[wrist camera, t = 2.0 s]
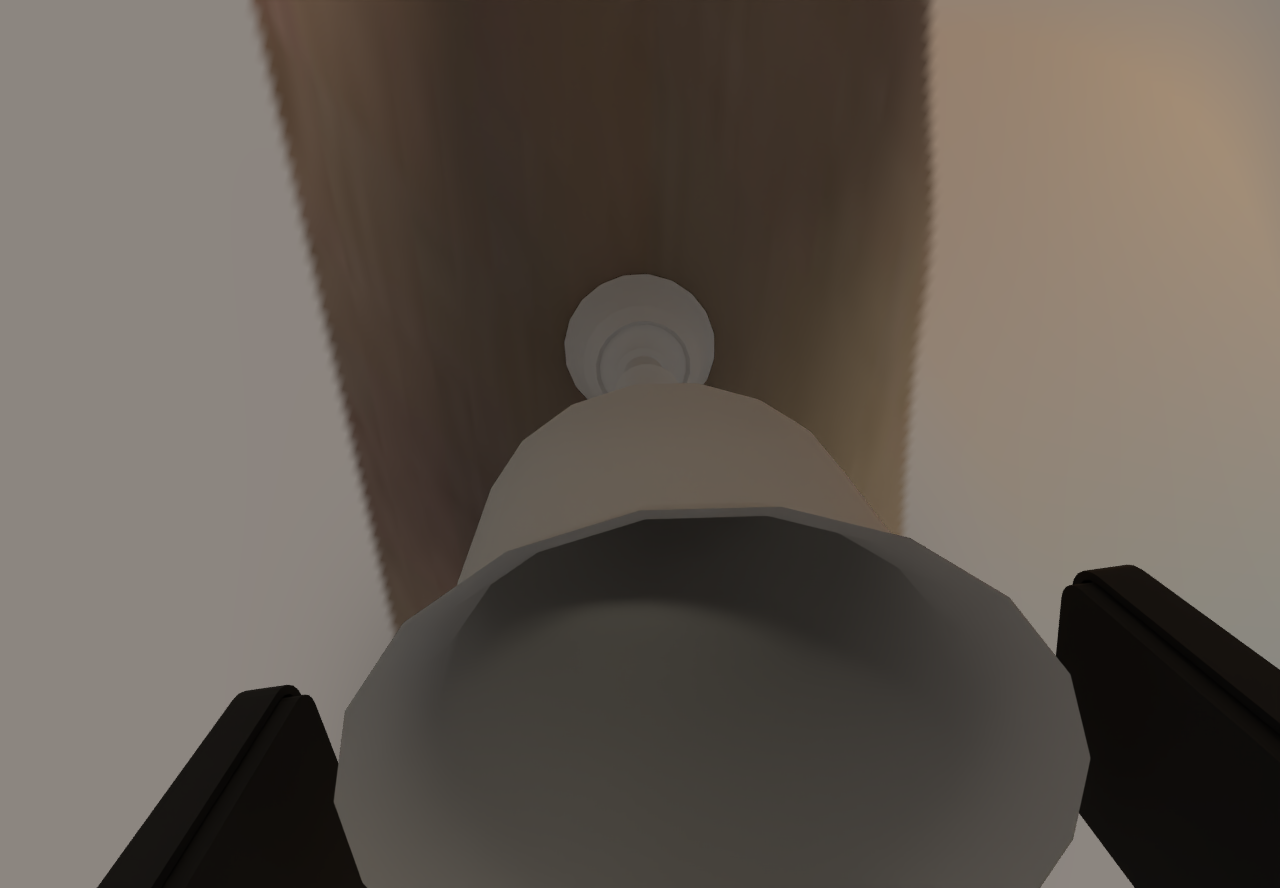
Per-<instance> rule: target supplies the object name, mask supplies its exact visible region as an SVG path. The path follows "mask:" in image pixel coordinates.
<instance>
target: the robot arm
mask: <svg viewBox="0 0 1280 888" xmlns="http://www.w3.org/2000/svg"><path fill="white" fill-rule="evenodd" d="M1056 657H1057V658H1058V659H1059V661H1060V662H1061V663H1062V665H1063V666H1064V667H1065V668H1066V670H1067V671H1068V672H1069V673H1070V675H1071V679H1072V683H1073V688H1074V692H1075V696H1076V700H1077V704H1078V708H1079V712H1080V717H1081V721H1082V725H1083V729H1084V733H1085V737H1086V742H1087V746H1088V750H1089V754H1090V763H1089V767H1088V772H1087V777H1086V781H1085V786H1084V791H1083V795H1082V800H1081V805H1080V809H1079V814H1080V815H1081V816H1082V818H1083V819H1084V820H1085V821H1086V823H1087V824H1088V826H1089V827H1090V828H1091V830H1092V831H1093V832H1094V834H1095V835H1096V836H1097V838H1098V839H1099V840H1100V842H1101V843H1102V844H1103V846H1104V847H1105V848H1106V850H1107V851H1108V852H1109V854H1110V855H1111V857H1113V859H1114V861H1115V862H1116V863H1117V865H1118V866H1119V867H1120V869H1121V870H1122V871H1123V873H1124V874H1125V875H1126V877H1127V878H1128V879H1129V881H1130V882H1131V883H1132V885H1133V886H1134V887H1135V888H1280V670H1279V669H1278V668H1277V667H1275V666H1274V665H1272V664H1271V663H1270V662H1268V661H1267V660H1266V659H1264V658H1263V657H1261V656H1260V655H1259V654H1257V653H1256V652H1254V651H1253V650H1252V649H1250V648H1249V647H1248V646H1246V645H1245V644H1244V643H1242V642H1240V641H1239V640H1238V639H1237V638H1235V637H1234V636H1232V635H1231V634H1230V633H1228V632H1227V631H1226V630H1224V629H1223V628H1222V627H1220V626H1219V625H1217V624H1216V623H1215V622H1213V621H1212V620H1211V619H1209V618H1208V617H1207V616H1205V615H1204V614H1202V613H1201V612H1200V611H1198V610H1197V609H1195V608H1194V607H1193V606H1191V605H1190V604H1189V603H1187V602H1186V601H1184V600H1183V599H1182V598H1180V597H1179V596H1178V595H1176V594H1175V593H1174V592H1172V591H1171V590H1169V589H1168V588H1167V587H1165V586H1164V585H1163V584H1161V583H1160V582H1158V581H1157V580H1156V579H1154V578H1153V577H1151V576H1150V575H1149V574H1147V573H1146V572H1145V571H1143V570H1142V569H1140V568H1138V567H1136V566H1134V565H1122V566H1115V567H1108V568H1101V569H1094V570H1087V571H1082V572H1080V573H1078V574H1077V575H1076V577H1075V578H1074V581H1073V585H1069V586H1067V587H1066V588H1065V589H1064V591H1063V593H1062V598H1061V609H1060V620H1059V630H1058V641H1057V651H1056ZM337 771H338V761H337V759H336V756H335V753H334V751H333V748H332V746H331V743H330V741H329V738H328V735H327V733H326V730H325V728H324V725H323V723H322V720H321V718H320V715H319V712H318V710H317V707H316V705H315V702H314V701H313V699H312V698H311V697H310V696H309V695H301V694H300V692H299V690H298V689H297V688H295V687H294V686H291V685H284V686H276V687H269V688H263V689H256V690H249V691H244V692H242V693H240V694H238V695H237V696H236V697H235V698H234V699H233V700H232V702H231V703H230V705H229V706H228V707H227V709H226V710H225V712H224V713H223V714H222V716H221V717H220V719H219V720H218V721H217V723H216V724H215V726H214V727H213V728H212V730H211V731H210V732H209V734H208V735H207V736H206V738H205V739H204V740H203V742H202V743H201V745H200V746H199V748H198V749H197V750H196V752H195V753H194V754H193V756H192V757H191V758H190V760H189V761H188V763H187V764H186V765H185V767H184V768H183V770H182V771H181V772H180V774H179V775H178V776H177V778H176V779H175V781H174V782H173V783H172V785H171V786H170V788H169V789H168V790H167V792H166V793H165V794H164V796H163V797H162V799H161V800H160V801H159V803H158V804H157V806H156V807H155V808H154V810H153V811H152V813H151V814H150V815H149V817H148V818H147V819H146V821H145V822H144V824H143V825H142V826H141V828H140V829H139V830H138V832H137V833H136V835H135V836H134V837H133V839H132V840H131V841H130V843H129V845H128V846H127V847H126V848H125V850H124V851H123V853H122V854H121V855H120V857H119V858H118V859H117V861H116V862H115V864H114V865H113V866H112V868H111V869H110V871H109V872H108V873H107V875H106V876H105V878H104V879H103V880H102V882H101V883H100V884H99V886H98V887H97V888H367V887H366V886H365V885H364V884H363V882H362V880H361V877H360V874H359V871H358V868H357V865H356V863H355V860H354V857H353V854H352V851H351V849H350V846H349V843H348V840H347V837H346V835H345V832H344V829H343V826H342V823H341V821H340V818H339V815H338V812H337V809H336V807H335V804H334V795H335V787H336V779H337Z"/></svg>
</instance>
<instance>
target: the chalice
mask: <svg viewBox="0 0 1280 888" xmlns="http://www.w3.org/2000/svg"><path fill="white" fill-rule="evenodd" d="M564 345H565V355H566V366H567V368H568V370H569V372H570V375H571V377H572V379H573V381H574V384H575V386H576V387H577V388H578V390H579V391H580V392H581V393H582V394H583V395H584V396H585V397H586V398H587V400H585V401H581V402H578V403H575V404H572V405H571V406H569V407H568V408H567V409H565V410H564V411H562V412H561V413H560V414H558V415H557V416H556V417H554V418H553V419H552V420H550V421H549V422H547V423H546V424H545V425H543V426H542V427H541V428H539V429H538V430H536V431H535V432H534V433H532V434H531V435H530V436H528V437H527V438H526V439H524V440H523V441H522V442H521V444H520V445H519V447H518V448H517V450H516V451H515V453H514V454H513V456H512V457H511V459H510V460H509V462H508V463H507V465H506V467H505V468H504V470H503V471H502V473H501V474H500V476H499V477H498V479H497V480H496V482H495V483H494V485H493V486H492V488H491V490H490V493H489V496H488V499H487V502H486V504H485V507H484V510H483V513H482V516H481V518H480V521H479V524H478V527H477V530H476V532H475V535H474V538H473V541H472V544H471V547H470V549H469V552H468V555H467V558H466V561H465V563H464V566H463V569H462V572H461V575H460V578H459V580H458V583H457V586H456V587H454V588H453V589H451V590H450V591H448V592H447V593H446V594H444V595H443V596H441V597H440V598H438V599H437V600H435V601H434V602H433V603H431V604H430V605H428V606H427V607H425V608H424V609H423V610H421V611H420V612H418V613H417V614H415V615H414V616H412V617H411V618H410V619H408V620H407V621H405V622H404V623H403V624H402V626H401V627H400V629H399V630H398V632H397V633H396V635H395V636H394V638H393V639H392V641H391V642H390V644H389V645H388V647H387V648H386V650H385V652H384V653H383V654H382V656H381V657H380V659H379V661H378V662H377V663H376V665H375V667H374V668H373V670H372V671H371V673H370V674H369V676H368V677H367V679H366V680H365V682H364V683H363V685H362V686H361V688H360V689H359V691H358V693H357V694H356V695H355V697H354V699H353V700H352V701H351V703H350V704H349V706H348V707H347V709H346V711H345V715H344V723H343V731H342V739H341V747H340V755H339V763H338V771H337V779H336V787H335V795H334V804H335V807H336V809H337V812H338V815H339V818H340V821H341V823H342V826H343V829H344V832H345V835H346V837H347V840H348V843H349V846H350V849H351V851H352V854H353V857H354V860H355V863H356V865H357V868H358V871H359V874H360V877H361V880H362V882H363V884H364V885H365V886H366V887H367V888H1040V887H1041V886H1042V884H1043V883H1044V881H1045V880H1046V878H1047V877H1048V875H1049V874H1050V873H1051V871H1052V870H1053V868H1054V867H1055V865H1056V864H1057V862H1058V860H1059V859H1060V858H1061V856H1062V855H1063V853H1064V852H1065V850H1066V849H1067V847H1068V846H1069V844H1070V843H1071V842H1072V840H1073V837H1074V832H1075V828H1076V823H1077V819H1078V814H1079V809H1080V805H1081V800H1082V795H1083V791H1084V786H1085V781H1086V777H1087V772H1088V767H1089V763H1090V754H1089V750H1088V746H1087V742H1086V737H1085V733H1084V729H1083V725H1082V721H1081V717H1080V712H1079V708H1078V704H1077V700H1076V696H1075V692H1074V688H1073V683H1072V679H1071V675H1070V673H1069V672H1068V671H1067V670H1066V668H1065V667H1064V666H1063V665H1062V663H1061V662H1060V661H1059V659H1058V658H1057V657H1056V656H1055V654H1054V653H1053V652H1052V651H1051V649H1050V648H1049V647H1048V646H1047V644H1046V643H1045V642H1044V641H1043V639H1042V638H1041V637H1040V635H1039V634H1038V633H1037V632H1036V631H1035V629H1034V628H1033V627H1032V625H1031V624H1030V623H1029V622H1028V620H1027V619H1026V618H1025V617H1024V615H1023V614H1022V613H1021V611H1019V609H1018V608H1017V606H1016V605H1015V604H1014V603H1013V601H1012V600H1011V599H1010V598H1009V597H1008V596H1006V595H1004V594H1003V593H1001V592H999V591H998V590H996V589H994V588H993V587H991V586H989V585H988V584H986V583H984V582H983V581H981V580H979V579H978V578H976V577H974V576H973V575H971V574H969V573H967V572H966V571H964V570H963V569H961V568H959V567H958V566H956V565H954V564H953V563H951V562H949V561H948V560H946V559H944V558H942V557H941V556H939V555H938V554H936V553H934V552H932V551H931V550H929V549H927V548H926V547H924V546H922V545H921V544H919V543H917V542H916V541H914V540H913V539H911V538H907V537H903V536H899V535H895V534H891V533H890V531H889V530H888V529H887V527H886V526H885V525H884V523H883V522H882V521H881V520H880V518H879V517H878V516H877V514H876V513H875V512H874V510H873V509H872V508H871V506H870V505H869V504H868V502H867V501H866V500H865V498H864V497H863V496H862V495H861V493H860V492H859V491H858V489H857V488H856V487H855V485H854V484H853V483H852V481H851V480H850V479H849V477H848V476H847V475H846V474H845V472H844V471H843V470H842V469H841V468H840V466H839V465H838V464H837V463H836V461H835V460H834V459H833V458H832V457H831V455H830V454H829V453H828V452H827V451H826V449H825V448H824V447H823V446H822V445H821V443H820V442H819V441H818V440H817V439H816V437H815V436H814V435H813V434H812V433H811V431H809V430H808V429H806V428H804V427H803V426H801V425H800V424H798V423H796V422H795V421H793V420H792V419H790V418H788V417H787V416H785V415H783V414H782V413H780V412H779V411H777V410H775V409H774V408H772V407H771V406H769V405H767V404H766V403H764V402H763V401H761V400H759V399H755V398H752V397H748V396H744V395H740V394H737V393H733V392H729V391H725V390H722V389H718V388H714V387H710V386H707V385H704V383H705V382H706V380H707V379H708V376H709V373H710V369H711V366H712V363H713V360H714V333H713V330H712V327H711V324H710V321H709V318H708V316H707V313H706V311H705V310H704V309H703V308H702V306H701V305H700V304H699V302H698V301H697V300H696V298H695V297H694V296H693V295H692V294H691V293H690V292H688V291H687V290H685V289H684V288H682V287H681V286H679V285H678V284H676V283H675V282H673V281H672V280H668V279H664V278H661V277H657V276H653V275H650V274H640V275H623V276H621V277H618V278H616V279H613V280H610V281H608V282H605V283H603V284H601V285H599V286H598V287H597V288H596V289H595V290H593V291H592V292H591V293H590V294H588V295H587V296H586V297H585V298H584V299H582V301H581V302H580V304H579V306H578V307H577V309H576V310H575V312H574V314H573V315H572V317H571V318H570V320H569V325H568V329H567V333H566V338H565V342H564Z"/></svg>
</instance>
